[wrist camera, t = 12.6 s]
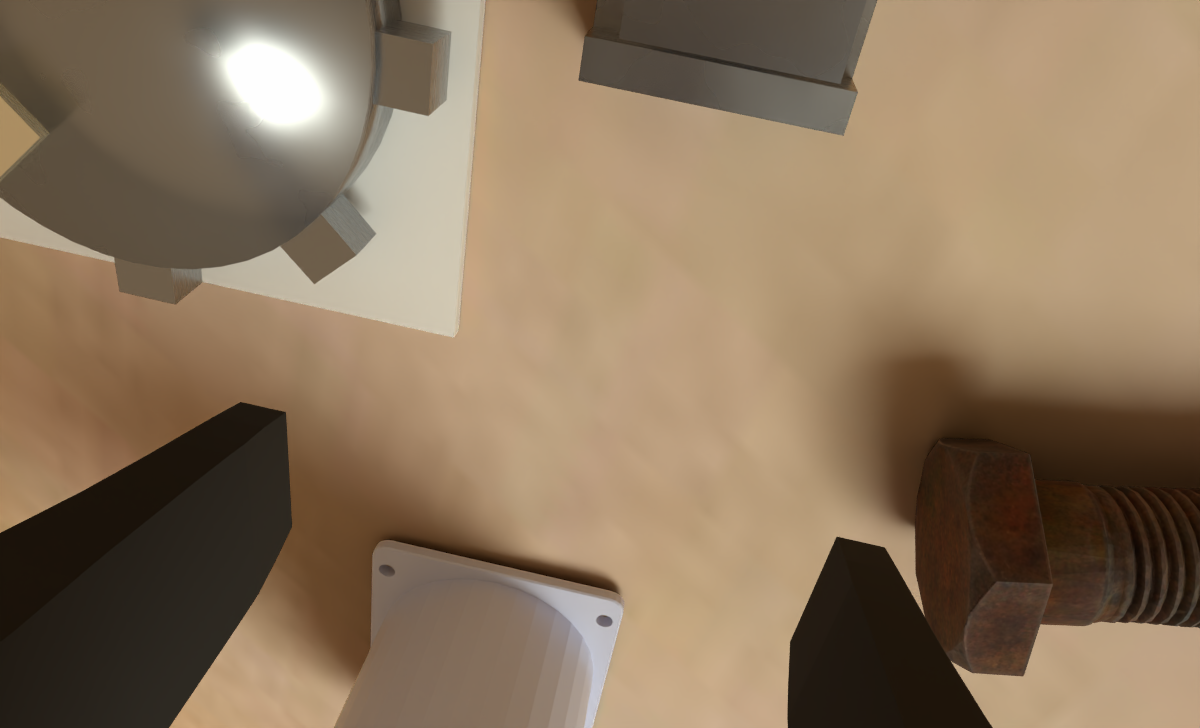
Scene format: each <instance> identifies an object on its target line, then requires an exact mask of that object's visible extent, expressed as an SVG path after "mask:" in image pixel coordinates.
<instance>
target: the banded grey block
mask: <svg viewBox="0 0 1200 728" xmlns="http://www.w3.org/2000/svg"><path fill="white" fill-rule="evenodd" d="M866 1H867V0H625V5H624V11H623V17H622V23H621V29H620V35H619V39H624V40H629V41H634V42H639V43H644V44H648V45H653V46H658V47H663V48H668V49H673V50H677V51H682V52H687V53H692V54H697V55H702V56H707V57H711V58H716V59H721V60H726V61H731V62H736V63H741V64H745V65H750V66H755V67H760V68H765V69H770V70H774V71H779V72H784V73H789V74H794V75H799V76H804V77H808V78H813V79H818V80H823V81H828V82H833V83H838V84H841V80H842V77H843V74H844V71H845V68H846V65H847V61H848V58H849V55H850V52H851V49H852V46H853V42H854V39H855V36H856V33H857V30H858V27H859V23H860V20H861V17H862V14H863V11H864V8H865V4H866Z"/></svg>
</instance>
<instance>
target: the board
mask: <svg viewBox="0 0 1200 728" xmlns="http://www.w3.org/2000/svg"><path fill="white" fill-rule="evenodd" d="M485 2H486V0H400V6H401V13H402V21H406V22H410V23H415V24H419V25H424V26H429V27H433V28H438V29H442V30H447V31H451V45H450V59H449V73H448V87H447V100H446V101H445V102H444V103H443V104H442V105H441V106H439V107H438V108H437V109H436V110H435V111H434V112H433V113H432V114H430V115H429V116H425V115H421V114H416V113H412V112H407V111H403V110H398V109H394V108H393V113H392V117H391V119H390V122H389V124H388V127H387V129H386V132H385V134H384V137H383V139H382V142H381V144H380V146H379V147H378V149H377V151H376V153H375V154H374V156H373V158H372V159H371V161H370V163H369V164H368V166H367V168H366V169H365V170H364V172H363V173H362V174H361V175H360V176H359V178H358V179H357V180H356V181H355V182H354V184H353V185H352V186H351V187H350V188H349V190H347V191H346V192H345V193H344V196H345V197H346V198H347V199H348V200H349V202H350V203H351V204H352V205H353V206H354V208H355V209H356V210H357V211H358V212H359V214H360V215H361V216H362V217H363V218H364V220H365V221H366V222H367V223H368V224H369V225H370V227H371V228H372V229H373V230H374V231H375V233H376V235H375V236H374V237H373V238H372V239H371V240H370V241H369V243H368V244H367V245H366V246H365V247H364V248H363V249H362V250H361V251H360V252H359V253H358V254H357V255H356V256H355V257H354V258H352V259H351V260H349V261H348V262H346V263H345V264H343V265H342V266H340V267H339V268H337V269H336V270H335V271H333V272H332V273H330V274H329V275H327V276H326V277H324V278H323V279H321V280H320V281H318V282H317V283H316V284H314V283H313V282H312V281H311V280H310V279H309V278H308V277H307V276H306V275H305V273H304V272H303V271H302V270H301V269H300V268H299V267H298V266H297V264H296V263H295V262H294V261H293V260H292V259H291V258H290V257H289V256H288V254H287V253H286V252H285V251H284V250H283V249H282V248H281V247H280V246H279V247H277V248H276V249H274V250H272V251H270V252H268V253H265V254H263V255H260V256H258V257H255V258H253V259H250V260H248V261H244V262H240V263H236V264H231V265H227V266H223V267H215V268H203V269H201V271H202V281H203V282H205V283H209V284H214V285H218V286H223V287H227V288H232V289H236V290H241V291H245V292H250V293H254V294H259V295H263V296H268V297H273V298H277V299H282V300H286V301H291V302H295V303H300V304H304V305H309V306H313V307H318V308H322V309H327V310H331V311H336V312H340V313H345V314H350V315H354V316H359V317H363V318H368V319H372V320H377V321H381V322H386V323H390V324H395V325H399V326H404V327H408V328H413V329H417V330H422V331H427V332H431V333H436V334H440V335H445V336H449V337H455V335H456V333H457V332H458V330H459V318H460V306H461V294H462V282H463V270H464V257H465V245H466V233H467V221H468V209H469V197H470V184H471V172H472V160H473V148H474V136H475V124H476V111H477V99H478V87H479V75H480V63H481V51H482V38H483V26H484V14H485ZM0 237H1V238H5V239H10V240H14V241H19V242H23V243H28V244H32V245H37V246H42V247H46V248H51V249H55V250H60V251H64V252H69V253H73V254H78V255H82V256H87V257H91V258H96V259H100V260H105V261H109V262H114V263H115V261H114V257H112V256H108V255H105V254H102V253H99V252H97V251H94V250H92V249H89V248H87V247H85V246H82V245H80V244H77V243H75V242H72V241H70V240H68V239H67V238H65V237H63V236H61V235H59V234H57V233H55V232H53V231H51V230H49V229H47V228H45V227H43V226H42V225H40V224H39V223H37V222H35V221H34V220H32V219H31V218H29V217H28V216H26V215H24V214H23V213H21V212H20V211H18V210H17V209H15V208H13V207H12V206H11V205H9V204H8V203H7V202H5V201H4V200H3V199H2V198H0Z"/></svg>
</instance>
